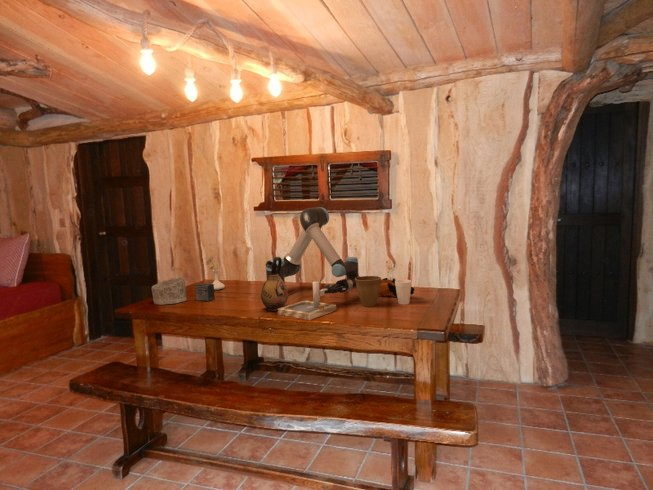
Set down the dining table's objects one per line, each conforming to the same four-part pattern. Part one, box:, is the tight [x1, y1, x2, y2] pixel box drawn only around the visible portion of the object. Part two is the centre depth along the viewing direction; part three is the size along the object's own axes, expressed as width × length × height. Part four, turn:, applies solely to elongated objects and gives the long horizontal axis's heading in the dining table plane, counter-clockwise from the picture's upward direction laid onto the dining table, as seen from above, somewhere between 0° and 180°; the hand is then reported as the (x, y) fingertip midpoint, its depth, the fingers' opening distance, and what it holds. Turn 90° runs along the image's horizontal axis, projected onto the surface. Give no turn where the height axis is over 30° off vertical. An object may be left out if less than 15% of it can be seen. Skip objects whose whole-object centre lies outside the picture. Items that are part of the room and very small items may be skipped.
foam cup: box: [395, 279, 413, 305], centre depth 258 cm, size 10×9×13 cm
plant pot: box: [355, 275, 382, 308], centre depth 256 cm, size 15×15×16 cm
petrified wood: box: [150, 277, 187, 306], centre depth 283 cm, size 19×17×15 cm
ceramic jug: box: [260, 256, 289, 312], centre depth 256 cm, size 17×15×30 cm
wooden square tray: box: [277, 299, 337, 321], centre depth 246 cm, size 23×23×5 cm
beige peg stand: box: [293, 281, 321, 313], centre depth 246 cm, size 16×16×16 cm
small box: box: [194, 282, 215, 303], centre depth 285 cm, size 11×6×10 cm, turn 65°
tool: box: [378, 277, 415, 298], centre depth 273 cm, size 8×23×15 cm, turn 56°
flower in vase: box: [205, 255, 226, 291], centre depth 317 cm, size 13×11×25 cm
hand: (319, 293), depth 248 cm, fingers closed
